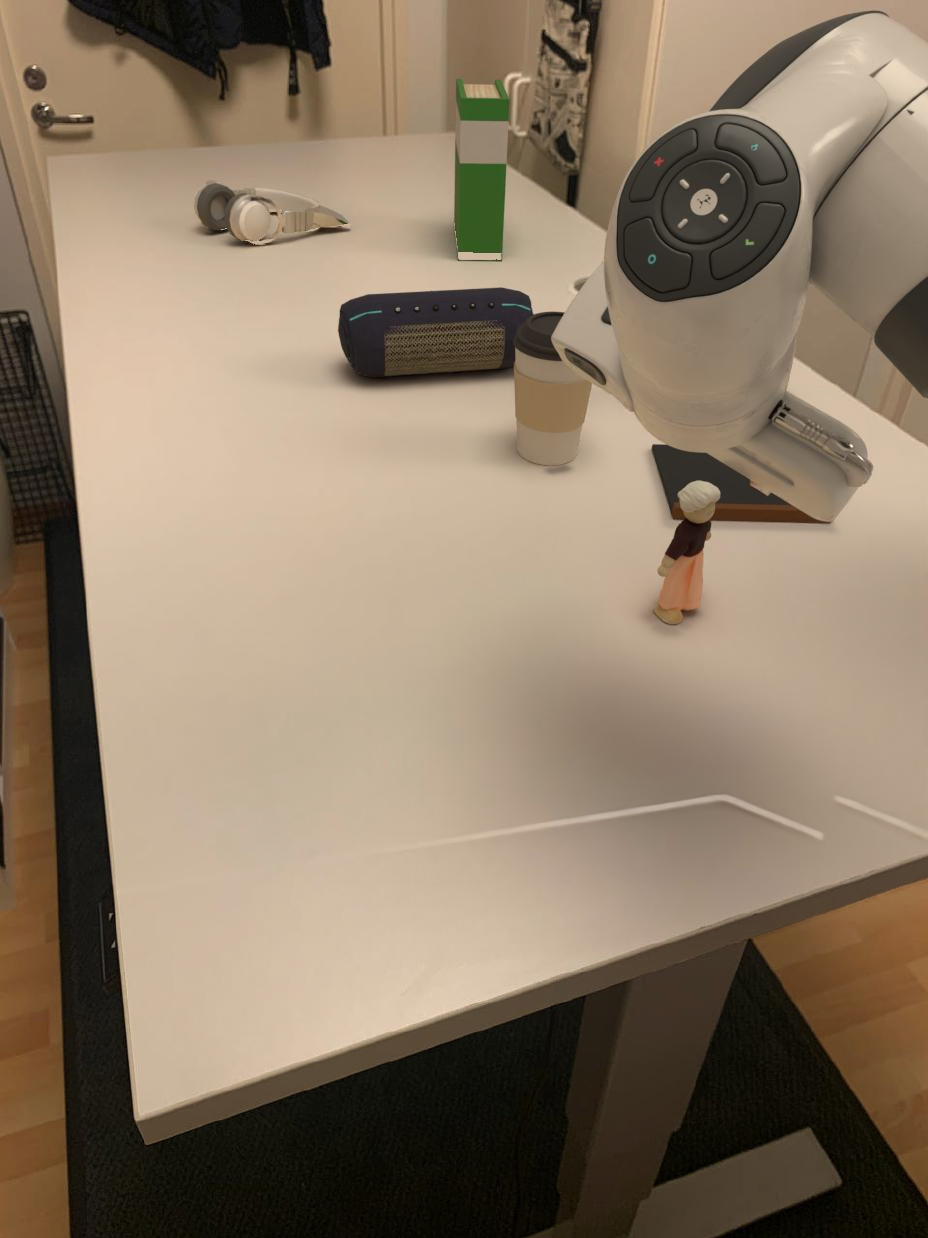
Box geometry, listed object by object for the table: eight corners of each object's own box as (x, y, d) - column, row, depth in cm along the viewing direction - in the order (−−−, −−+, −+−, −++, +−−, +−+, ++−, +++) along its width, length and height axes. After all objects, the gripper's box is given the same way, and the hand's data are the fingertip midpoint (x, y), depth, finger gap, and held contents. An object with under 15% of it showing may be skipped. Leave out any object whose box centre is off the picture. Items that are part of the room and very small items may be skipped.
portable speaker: (346, 392, 113) (341, 313, 107) (338, 360, 120) (332, 284, 114) (540, 379, 117) (547, 301, 111) (521, 348, 125) (526, 274, 118)
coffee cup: (529, 476, 98) (540, 342, 88) (493, 439, 104) (499, 309, 95) (602, 461, 101) (619, 329, 91) (562, 425, 107) (575, 299, 98)
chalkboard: (791, 452, 103) (795, 441, 103) (830, 523, 92) (834, 511, 91) (651, 448, 103) (653, 437, 103) (673, 519, 92) (675, 507, 91)
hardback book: (454, 229, 167) (456, 78, 151) (494, 229, 167) (500, 79, 152) (458, 260, 153) (460, 98, 138) (501, 260, 153) (509, 98, 138)
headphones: (252, 252, 152) (351, 242, 166) (251, 202, 148) (353, 196, 162) (178, 223, 163) (277, 216, 178) (175, 176, 159) (277, 173, 173)
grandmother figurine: (684, 637, 78) (712, 510, 70) (641, 622, 79) (665, 497, 71) (711, 590, 83) (741, 467, 75) (671, 577, 84) (696, 455, 76)
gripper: (914, 414, 47) (869, 486, 60) (590, 235, 52) (615, 337, 66) (840, 515, 47) (811, 565, 60) (526, 326, 53) (563, 409, 66)
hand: (707, 445), depth 63 cm, fingers open, 8 cm apart
